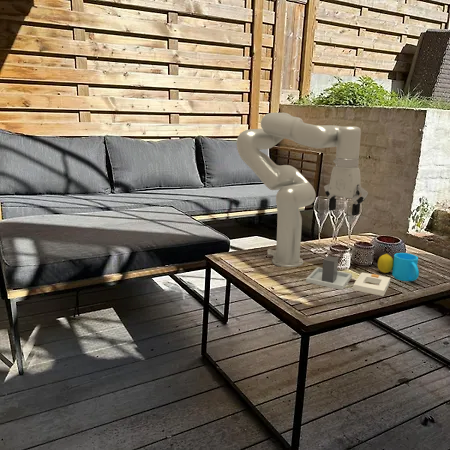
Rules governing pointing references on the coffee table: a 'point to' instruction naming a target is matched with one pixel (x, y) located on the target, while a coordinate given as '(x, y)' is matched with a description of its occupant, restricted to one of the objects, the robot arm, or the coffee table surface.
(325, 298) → the coffee table surface
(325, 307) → the coffee table surface
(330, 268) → the plug
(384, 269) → the lemon
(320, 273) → the tray
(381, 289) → the block
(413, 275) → the mug
